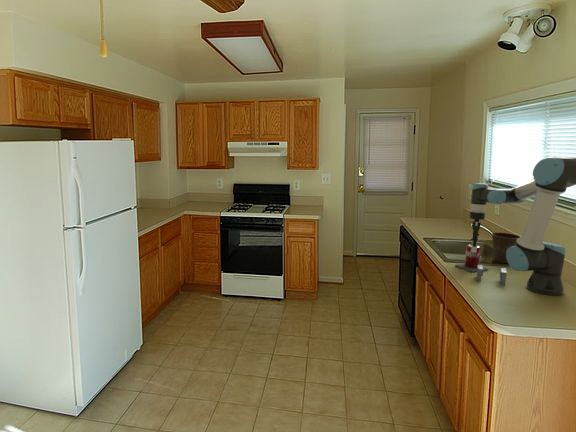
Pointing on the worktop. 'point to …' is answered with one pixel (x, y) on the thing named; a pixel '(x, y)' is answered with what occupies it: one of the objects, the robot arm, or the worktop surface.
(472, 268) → the rubber mat
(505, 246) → the plant pot
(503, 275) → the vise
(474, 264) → the soda can
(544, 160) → the robot arm
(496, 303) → the worktop surface
